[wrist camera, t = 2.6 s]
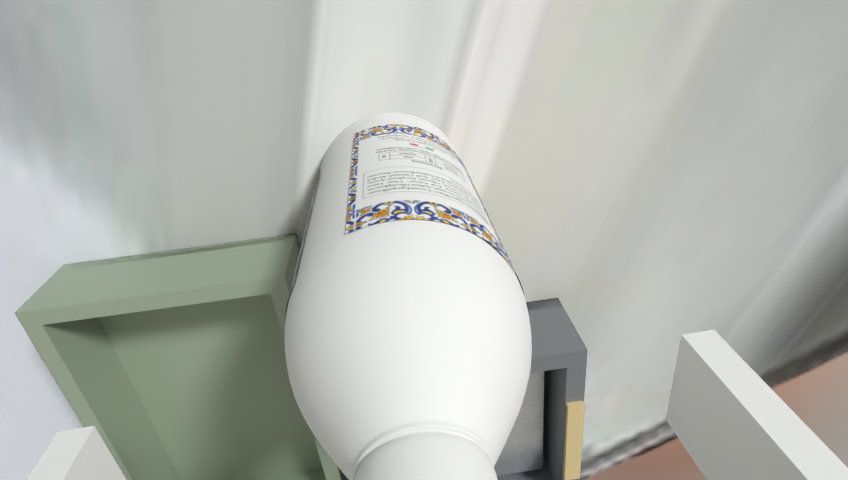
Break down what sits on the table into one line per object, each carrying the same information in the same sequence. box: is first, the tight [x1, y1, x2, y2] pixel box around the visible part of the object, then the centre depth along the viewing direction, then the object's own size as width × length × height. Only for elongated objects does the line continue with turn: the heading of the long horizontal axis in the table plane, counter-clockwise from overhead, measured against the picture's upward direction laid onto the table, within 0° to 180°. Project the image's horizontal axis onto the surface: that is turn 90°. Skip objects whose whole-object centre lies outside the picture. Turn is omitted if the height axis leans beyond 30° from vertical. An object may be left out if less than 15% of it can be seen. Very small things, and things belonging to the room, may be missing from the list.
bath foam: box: [285, 113, 532, 480], centre depth 16 cm, size 7×7×20 cm
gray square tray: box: [497, 298, 587, 480], centre depth 30 cm, size 13×13×5 cm
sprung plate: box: [494, 371, 544, 476], centre depth 30 cm, size 10×10×1 cm
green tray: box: [15, 234, 348, 480], centre depth 28 cm, size 12×18×4 cm, turn 7°
